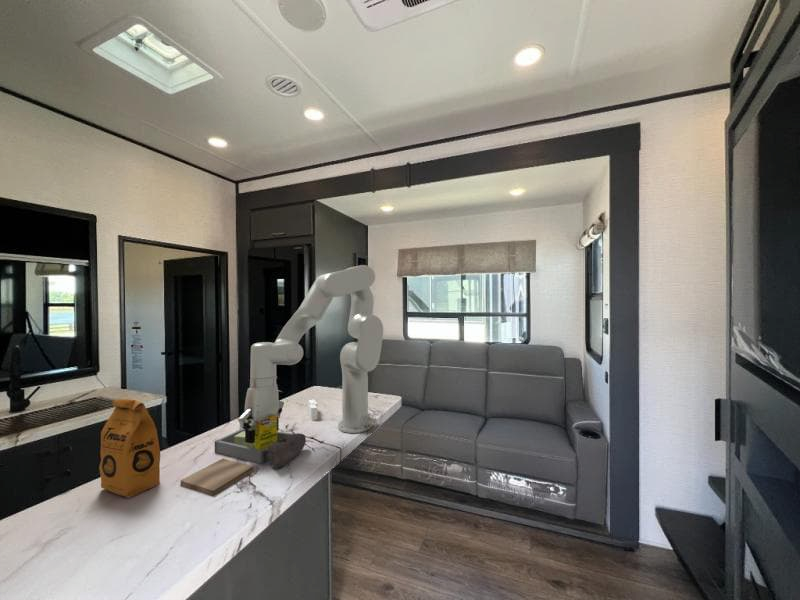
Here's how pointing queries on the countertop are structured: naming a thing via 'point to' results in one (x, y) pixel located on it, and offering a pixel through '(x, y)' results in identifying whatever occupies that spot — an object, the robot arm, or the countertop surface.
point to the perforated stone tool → (286, 449)
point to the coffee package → (129, 450)
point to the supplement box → (265, 432)
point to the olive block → (241, 439)
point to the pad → (217, 476)
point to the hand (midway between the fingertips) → (262, 436)
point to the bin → (244, 448)
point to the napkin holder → (312, 409)
